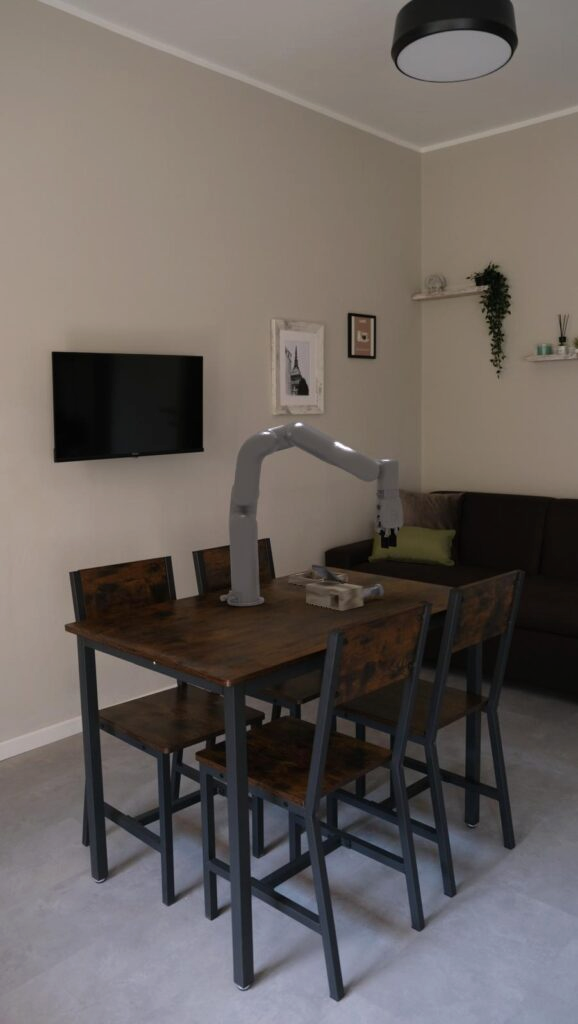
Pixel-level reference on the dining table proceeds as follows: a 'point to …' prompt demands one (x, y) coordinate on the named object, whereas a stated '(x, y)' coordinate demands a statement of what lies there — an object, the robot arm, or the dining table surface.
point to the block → (334, 595)
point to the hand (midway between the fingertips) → (388, 546)
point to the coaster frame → (302, 580)
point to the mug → (313, 574)
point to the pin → (373, 591)
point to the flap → (326, 573)
